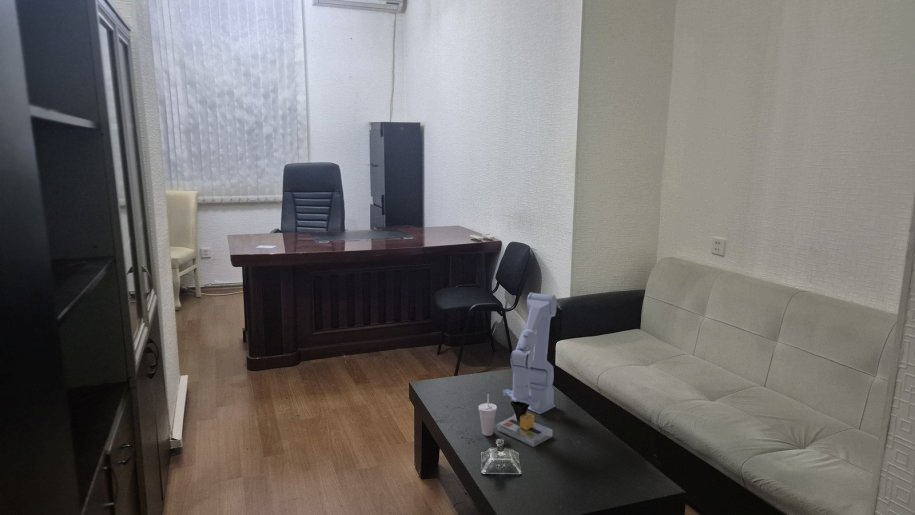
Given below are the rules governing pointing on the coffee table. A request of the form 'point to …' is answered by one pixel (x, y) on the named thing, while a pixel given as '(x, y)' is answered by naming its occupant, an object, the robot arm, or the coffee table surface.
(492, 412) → the smoothie
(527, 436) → the panel
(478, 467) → the coffee table surface
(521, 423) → the toggle
